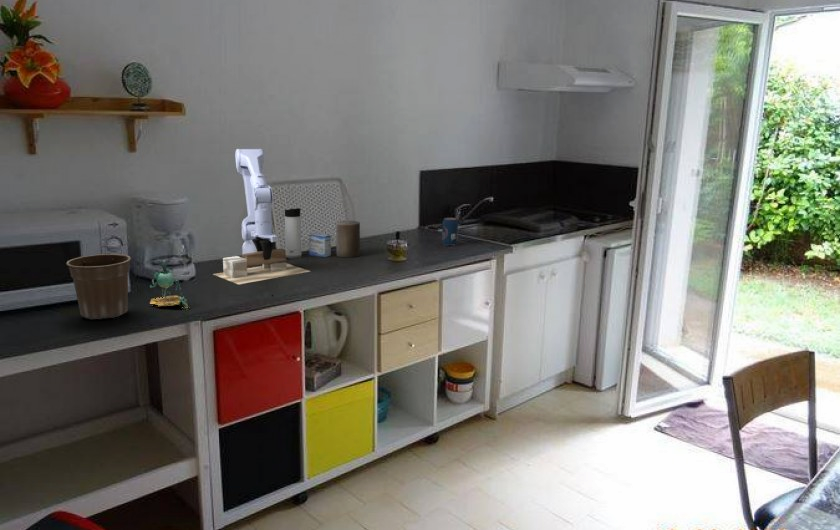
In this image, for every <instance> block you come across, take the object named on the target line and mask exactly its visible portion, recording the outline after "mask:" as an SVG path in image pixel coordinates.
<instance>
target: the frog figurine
mask: <svg viewBox="0 0 840 530" xmlns="http://www.w3.org/2000/svg"><path fill="white" fill-rule="evenodd" d="M173 271H174V269H173V268H172V267H169V268H167V261H166V260H162V270H160V272H159V270H158V269H155V270H153V276H154V278H155V279H156V281H155V279H152V280H151V282H152V284H153V286H152V285H149V288H150V289H152V288H155V287H156V286H157V285H158V286H159V287H161V294H162V297H163V298H162V297H161V296H159V297H160V298H159V297H155V298H156V299H155V298H151V299H150V302H149V304H155V305H158V306H157V307H167V306H168V307H169V306H170V307H171V306H176V305H177V306H180V305H181V304H182V306H184V307H185V308H188V307H189V305H188V301H187V299H186V298H185V295H183V293H182V292H180V296H179V295H171V292H170V291H167V290H168V288H170V287H172V286H173V285H174V282H175V283H176V288H175V292H178V287H179V291H181V290H182V288H181V286H180V285H181V284H180V282H179V280H177V279H175V277H174V275H173ZM167 294H169V295H167ZM182 308H183V307H182ZM182 308H181V309H182ZM189 308H190V307H189Z"/></svg>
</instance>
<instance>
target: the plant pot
mask: <svg viewBox="0 0 840 530" xmlns="http://www.w3.org/2000/svg"><path fill="white" fill-rule="evenodd" d="M131 260H132V259H131V256H129V255H127V254H121V253H106V254H105V253H103V254H92V255H85V256H79V257H76V258H72V259H70V260H67V262H66V266H68V269H69V273H70V277H71V279H72V280H73V285H74V291H75V294H76V299H77V302H78V308H79V309H78V310H79V315H80V316H81V315H82V316H85V317H91V318H104V319H108V318H107V317H114V316H118V315H122V314H124V313H126V312H127V311H128V310H129V308H128V307H129V305H128V303H129V302H128V301H129V296H128V295H129V294H128V292H129V289H128V288H129V282H128V281H129V279H128V277H129V276H128V275H129V272H130V269H129V268H130V261H131ZM128 312H129V311H128ZM128 312H127V313H128ZM127 313H126V314H127Z"/></svg>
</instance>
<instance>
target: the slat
mask: <svg viewBox="0 0 840 530" xmlns="http://www.w3.org/2000/svg"><path fill="white" fill-rule="evenodd" d="M241 257H242V258H245V259H247V267H255V266H258V265H259V266H261V265H262V264H266V263H272V262H278V263H279V262H286V261H287V257H286V248H276V249H275V248H273V249H272V253H271V258H270V259H268V260H264V256H263V251H260V252H253V253H246V254H243V253H242V256H241Z"/></svg>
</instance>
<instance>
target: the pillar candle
mask: <svg viewBox="0 0 840 530" xmlns="http://www.w3.org/2000/svg"><path fill="white" fill-rule="evenodd" d="M360 224H361V223H360V221H356V220H339V221H337V222H336V223H335V230H336V231H335V232H336V234H335V236H336V237H335V238H336V239H335V240H336V241H335V242H336V256H337V257H339V258H348V259H349V258H358V257H360V256H361V230H360V229H361V225H360Z"/></svg>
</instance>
